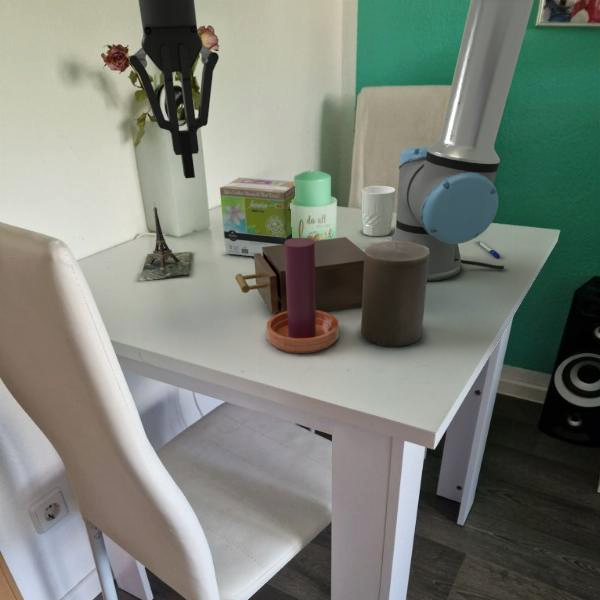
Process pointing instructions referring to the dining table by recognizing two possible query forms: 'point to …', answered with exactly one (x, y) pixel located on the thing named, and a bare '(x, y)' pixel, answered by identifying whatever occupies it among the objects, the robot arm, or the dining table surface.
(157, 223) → the eiffel tower figurine
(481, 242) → the ballpoint pen
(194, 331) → the dining table surface
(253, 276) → the drawer
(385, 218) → the white cup
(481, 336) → the dining table surface
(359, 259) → the cabinet
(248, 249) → the tea box
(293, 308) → the dark purple cylinder
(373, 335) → the pillar candle
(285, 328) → the saucer
